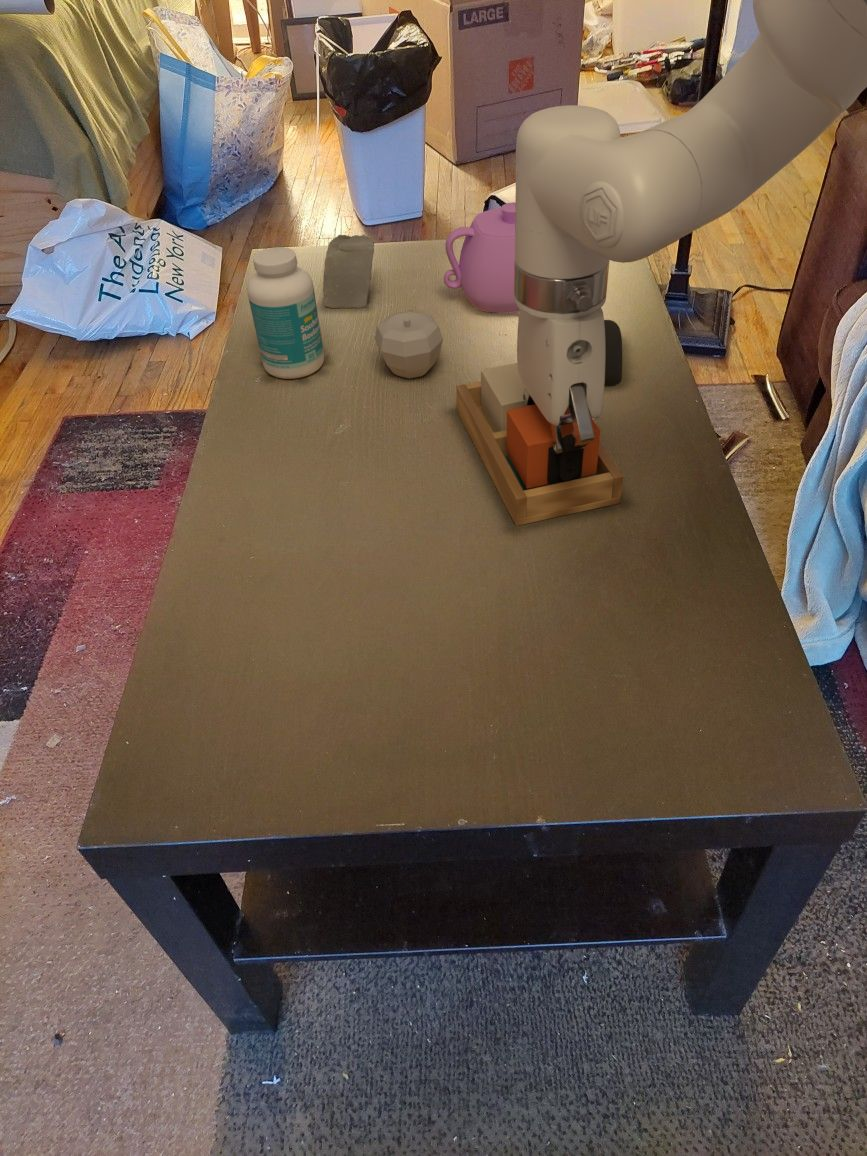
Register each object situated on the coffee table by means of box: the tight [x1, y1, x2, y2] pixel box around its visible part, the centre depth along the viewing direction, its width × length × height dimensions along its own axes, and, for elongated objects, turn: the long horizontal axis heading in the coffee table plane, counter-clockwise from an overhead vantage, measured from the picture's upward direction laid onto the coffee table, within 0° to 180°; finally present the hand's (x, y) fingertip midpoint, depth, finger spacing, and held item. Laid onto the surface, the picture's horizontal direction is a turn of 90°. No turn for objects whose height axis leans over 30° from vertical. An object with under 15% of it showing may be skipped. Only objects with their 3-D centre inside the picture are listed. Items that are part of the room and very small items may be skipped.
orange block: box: [507, 404, 601, 489], centre depth 79 cm, size 7×6×5 cm
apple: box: [374, 310, 444, 380], centre depth 97 cm, size 8×8×7 cm
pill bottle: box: [246, 246, 325, 380], centre depth 96 cm, size 8×7×14 cm
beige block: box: [480, 362, 529, 433], centre depth 87 cm, size 6×7×5 cm
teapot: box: [443, 201, 519, 314], centre depth 106 cm, size 20×13×12 cm, turn 97°
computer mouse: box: [604, 319, 623, 387], centre depth 97 cm, size 6×11×4 cm, turn 174°
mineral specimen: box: [322, 234, 375, 309], centre depth 110 cm, size 7×9×8 cm
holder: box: [455, 380, 625, 527], centre depth 85 cm, size 10×20×3 cm, turn 15°
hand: (551, 458), depth 81 cm, fingers closed on orange block, 6 cm apart
